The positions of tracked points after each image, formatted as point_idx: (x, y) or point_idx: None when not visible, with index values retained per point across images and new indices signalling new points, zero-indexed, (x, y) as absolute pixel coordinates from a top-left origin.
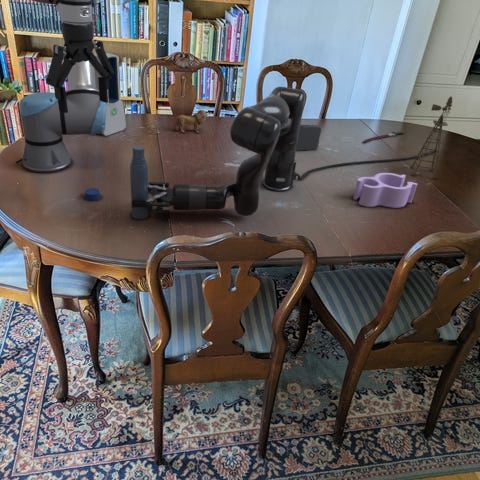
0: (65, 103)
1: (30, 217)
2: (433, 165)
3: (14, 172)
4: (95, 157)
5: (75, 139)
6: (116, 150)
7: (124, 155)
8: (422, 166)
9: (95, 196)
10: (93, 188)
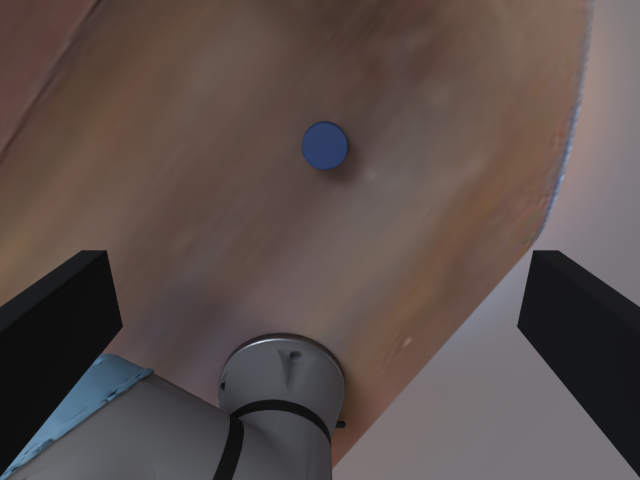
0: (602, 290)
1: (520, 172)
2: None
3: (373, 391)
4: (153, 339)
5: None
6: None
7: None
8: None
9: (330, 123)
10: (308, 161)
